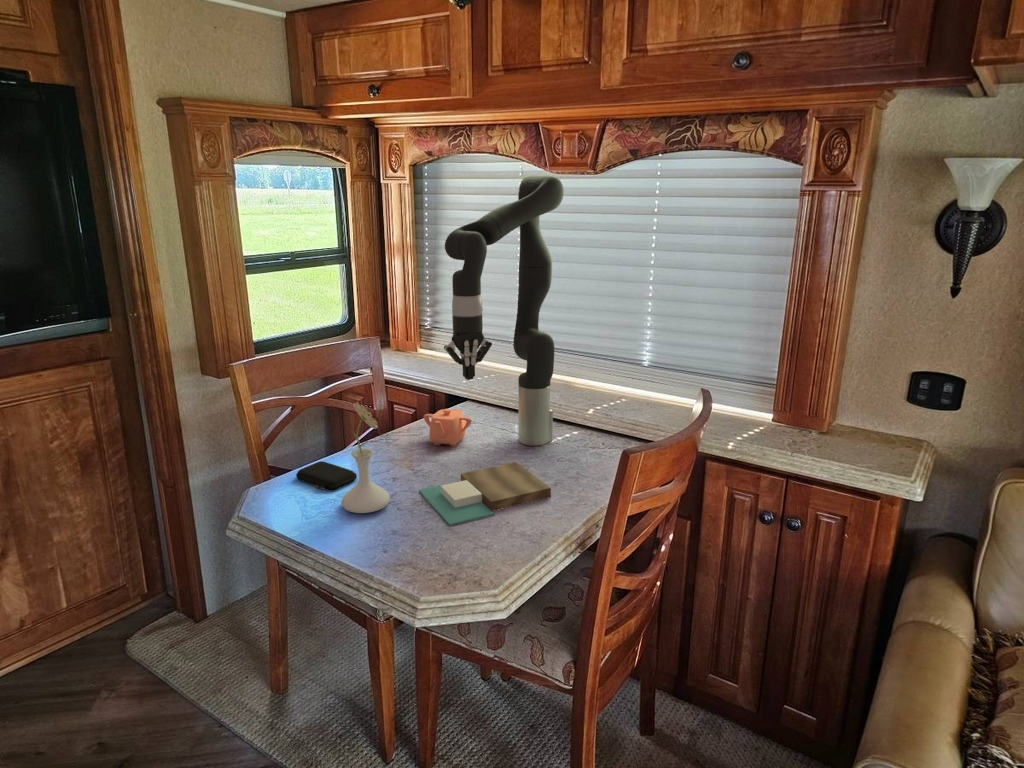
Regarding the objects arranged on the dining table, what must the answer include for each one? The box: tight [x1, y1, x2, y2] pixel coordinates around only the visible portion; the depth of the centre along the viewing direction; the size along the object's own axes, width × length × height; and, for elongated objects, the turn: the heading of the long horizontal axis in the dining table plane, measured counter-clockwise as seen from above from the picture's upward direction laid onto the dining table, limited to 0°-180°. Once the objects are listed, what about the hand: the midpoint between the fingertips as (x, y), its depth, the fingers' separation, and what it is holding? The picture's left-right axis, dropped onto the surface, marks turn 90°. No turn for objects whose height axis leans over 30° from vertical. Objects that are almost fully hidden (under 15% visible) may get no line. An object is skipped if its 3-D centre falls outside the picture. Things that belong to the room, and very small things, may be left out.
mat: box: [418, 480, 495, 527], centre depth 163 cm, size 11×20×1 cm, turn 27°
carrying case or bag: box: [295, 461, 358, 492], centre depth 176 cm, size 11×3×15 cm
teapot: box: [423, 408, 473, 448], centre depth 200 cm, size 14×12×10 cm
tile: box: [440, 480, 482, 508], centre depth 165 cm, size 7×9×2 cm
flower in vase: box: [340, 401, 391, 514], centre depth 159 cm, size 13×11×25 cm
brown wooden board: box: [460, 461, 552, 512], centre depth 170 cm, size 16×18×2 cm
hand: (468, 378), depth 176 cm, fingers closed
